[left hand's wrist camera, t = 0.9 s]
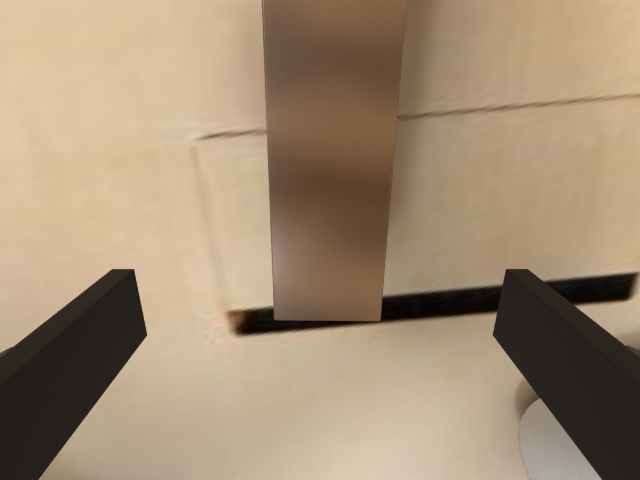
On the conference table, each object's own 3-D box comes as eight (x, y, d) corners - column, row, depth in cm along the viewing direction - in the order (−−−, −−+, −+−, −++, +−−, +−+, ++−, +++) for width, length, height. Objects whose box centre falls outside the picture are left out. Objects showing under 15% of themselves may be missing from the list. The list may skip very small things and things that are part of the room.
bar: (361, 255, 27) (380, 321, 19) (288, 254, 27) (274, 320, 19) (382, -111, 19) (429, -274, 11) (280, -113, 19) (250, -277, 11)
